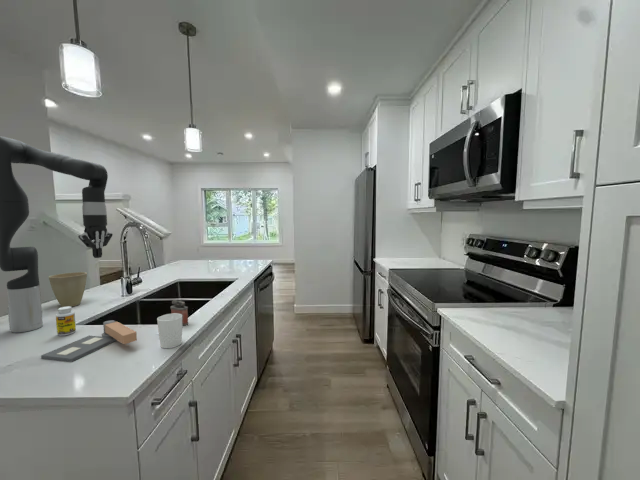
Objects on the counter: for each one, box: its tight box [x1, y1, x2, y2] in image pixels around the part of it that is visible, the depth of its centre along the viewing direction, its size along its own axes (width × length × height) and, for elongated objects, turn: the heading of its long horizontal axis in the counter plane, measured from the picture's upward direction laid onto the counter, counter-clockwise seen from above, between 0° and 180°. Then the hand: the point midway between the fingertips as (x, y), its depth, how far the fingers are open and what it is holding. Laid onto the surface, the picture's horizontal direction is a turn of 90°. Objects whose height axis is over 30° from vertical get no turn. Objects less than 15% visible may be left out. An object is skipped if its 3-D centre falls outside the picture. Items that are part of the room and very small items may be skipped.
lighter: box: [170, 300, 189, 327], centre depth 123 cm, size 8×3×10 cm, turn 71°
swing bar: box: [102, 319, 138, 345], centre depth 106 cm, size 21×4×4 cm, turn 53°
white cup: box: [156, 313, 183, 349], centre depth 104 cm, size 8×8×10 cm
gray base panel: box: [40, 332, 117, 363], centre depth 104 cm, size 12×22×1 cm, turn 169°
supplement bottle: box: [55, 306, 77, 337], centre depth 114 cm, size 6×6×10 cm
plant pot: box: [48, 271, 88, 308], centre depth 150 cm, size 15×15×16 cm
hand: (97, 257), depth 117 cm, fingers closed
